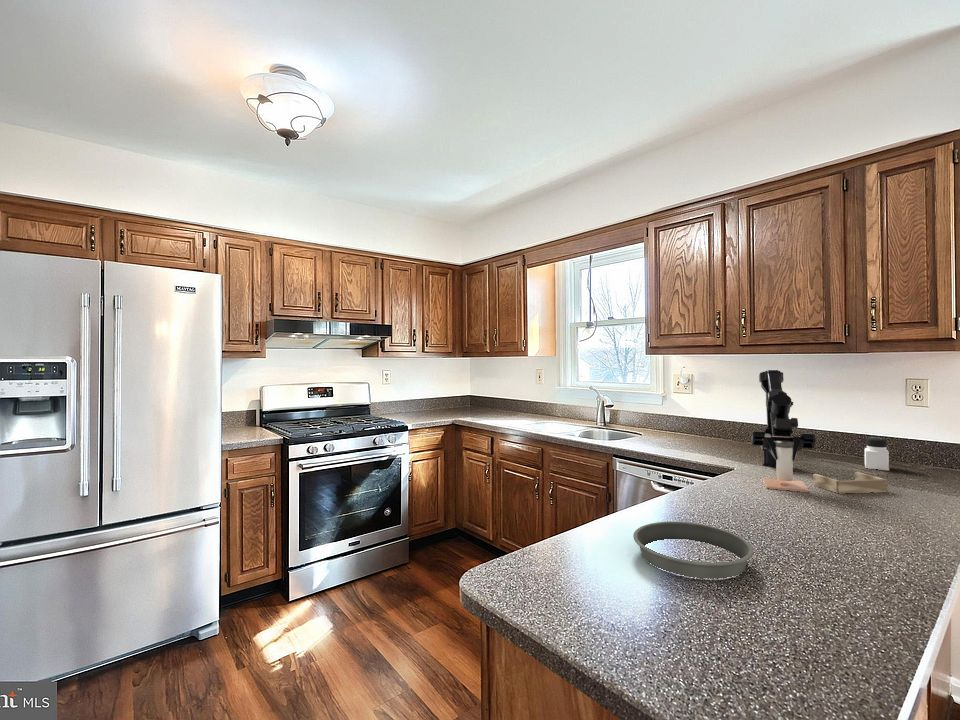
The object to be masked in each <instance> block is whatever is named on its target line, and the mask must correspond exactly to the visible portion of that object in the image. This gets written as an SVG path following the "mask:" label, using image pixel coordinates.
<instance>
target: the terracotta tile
mask: <svg viewBox="0 0 960 720" xmlns="http://www.w3.org/2000/svg"><path fill="white" fill-rule="evenodd" d="M762 481H763V484H764V487H765V486H766V487H765V489H766V488H769V489H768V490H775V489H778V490H777V491H786V490H790V491H789V492H796V491H800V492H799V493H807V492H809V493H810V490H809V489H808V487H807V486H806V484H805V483H804V481H801V480H793V481H782V480H778V479H777V478H767V477H766V478H765V477H763V478H762Z"/></svg>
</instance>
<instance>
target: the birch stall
mask: <svg viewBox="0 0 960 720" xmlns="http://www.w3.org/2000/svg"><path fill="white" fill-rule="evenodd" d="M812 485H815V486H814V487H816V486H817V488H819V487H821V488H820V489H822V488H824V489H823V490H825V489H827V490H826V491H828V490H830V491H829V492H831V491H833V492H832V493H834V492H836V493H835V494H838V493H839V494H838V495H846V494H845V493H855V494H868V493H869V494H871V493H870V492H874V493H887V492H889V490H888V488H889V487H888V479H887V478H882V477H879V476H875V475H871V474H867V473H863V472H859V471H854V479H853V480H852V479H850V480H838V479H835V478H832V477H828V476H824V475H821V474H818V473H813V474H812Z"/></svg>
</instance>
